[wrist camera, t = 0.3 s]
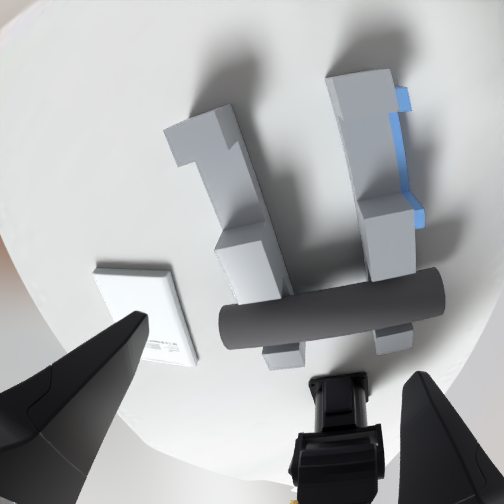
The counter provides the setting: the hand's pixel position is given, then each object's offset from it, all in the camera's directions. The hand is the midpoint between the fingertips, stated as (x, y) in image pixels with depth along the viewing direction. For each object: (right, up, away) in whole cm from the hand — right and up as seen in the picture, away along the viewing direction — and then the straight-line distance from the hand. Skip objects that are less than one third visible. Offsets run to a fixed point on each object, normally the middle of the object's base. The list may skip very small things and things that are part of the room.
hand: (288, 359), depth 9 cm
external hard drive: (-11, -3, +21) cm, 24 cm away
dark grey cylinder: (+5, 0, +14) cm, 14 cm away
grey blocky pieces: (+4, +5, +12) cm, 14 cm away
